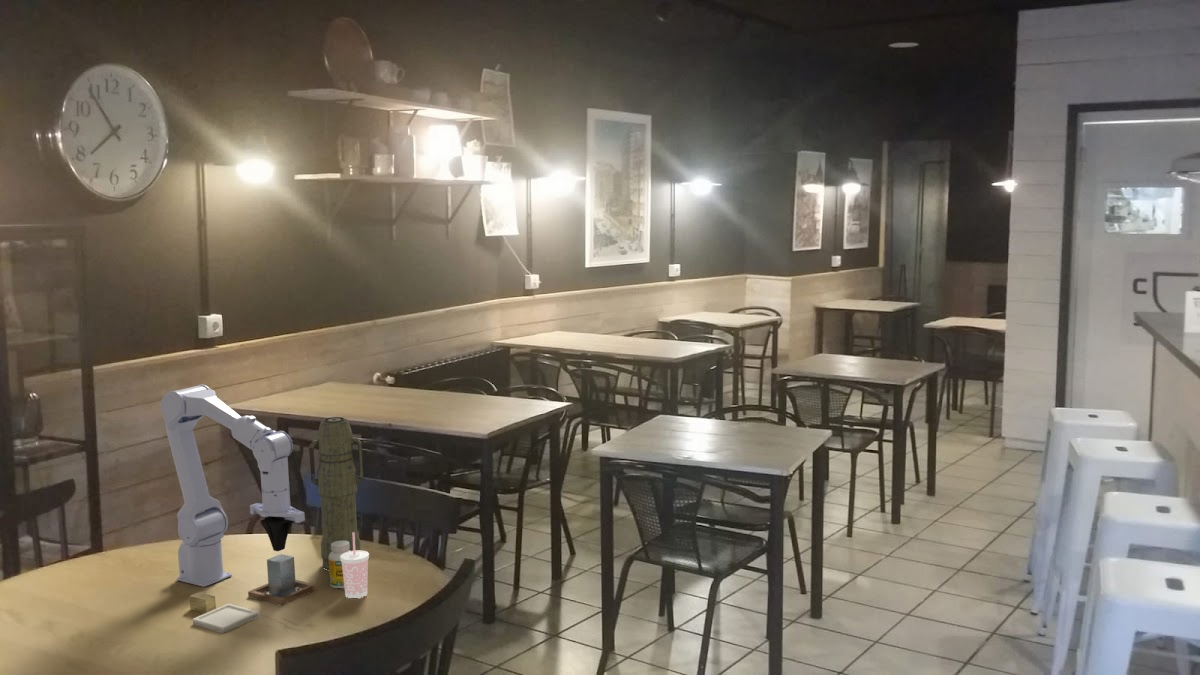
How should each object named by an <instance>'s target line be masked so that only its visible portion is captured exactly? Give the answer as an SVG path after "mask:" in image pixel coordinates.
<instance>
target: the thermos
mask: <svg viewBox="0 0 1200 675" xmlns="http://www.w3.org/2000/svg"><path fill="white" fill-rule="evenodd" d="M355 443H356V444H357V445H358V446H357V447H358V449H357V450H358V451H357V453H358V468H359V469H358V470H359V471H358V472H359V475H358V474H357V468H356V465H355V463H354V456H353V451H354V449H353V444H355ZM315 445H317V446H318V454H319V462H318V463H319V465H318V468H317V475H316V468H315V467H316V464H315V451H314V450H315ZM362 447H363V443H362V441H361V440H360V439H359V437H356V436H353V430H352V428H351V425H350V422H349V421H348V418H344V416H343V417H342V416H341V417H340V416H332V417H328V418H324V419H323V420H321V421H320V423H319V428H318V433H317V438H316V439H314V440H313V441H312V442H311V443H310V444H309V446H308V455H309V464H310V465H309V467H310V481H311V483H312V484H313V485H315V486H317V489H318V492H317V493H318V496H319V498H320V507H321V508H320V509H321V528H322V530H321V531H322V537H321V542H320V552H321V554H320V555H321V559H322V569H323V568H325V569H327V570H329V554H330V553H331V552H332V550H331V543H333V542H336V541H348V542H349V545H350V548H349V550H350V551H353V535H352V533H353V532H355V550H361V540H360V536H358V522H357V519H358V517H357V499H356V495H357V493H358V484H359V483H360V482H363V481H364V465H363V464H364V463H363V462H364V460H363V448H362ZM316 476H317V478H316ZM327 570H326V571H327Z"/></svg>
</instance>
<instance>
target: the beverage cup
mask: <svg viewBox="0 0 1200 675" xmlns="http://www.w3.org/2000/svg"><path fill="white" fill-rule="evenodd" d="M352 535H353V551H348V552H345V553H343V554H341V556H340V561H341V562H342V569H343V578H344V586H345V588H344V594H345V597H346V598H347V597H348V598H347V599H349V598H358V599H362V598H364V597H363V596H365V597H366V596H367V595H368V582H369V580H368V579H369V578H368V576H369V574H368V573H369V572H368V571H369V570H368V569H369V558H370V553H369V552H368V551H367V550H361V549H360V550H355V532H353V533H352ZM361 597H362V598H361Z"/></svg>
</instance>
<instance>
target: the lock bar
mask: <svg viewBox="0 0 1200 675" xmlns="http://www.w3.org/2000/svg"><path fill="white" fill-rule="evenodd" d="M189 605H190V610H191V611H195V612H198V613H202V614H205V613H207V612H210V611H212V610H214V609H217V605H216V596H215V595H212V594H209V593H208V594H207V593H204V592H200V591H198V592H195V593H193V594H191V595H189Z"/></svg>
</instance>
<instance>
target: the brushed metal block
mask: <svg viewBox="0 0 1200 675" xmlns="http://www.w3.org/2000/svg"><path fill="white" fill-rule="evenodd" d="M266 567H267V568H266V569H267V583H268V587H269V591H268V594H269V595H273V596H277V597H281V598H282V597H284V596H286V595H288V594H291V593H293V592H295V591H297V587H296V583H295V580H296V569H295V568H296V566H295V557H294V556H291V555H287V554H283V553H280V554H278V555H275V556H273V557H270V558H268V559H266Z"/></svg>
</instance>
